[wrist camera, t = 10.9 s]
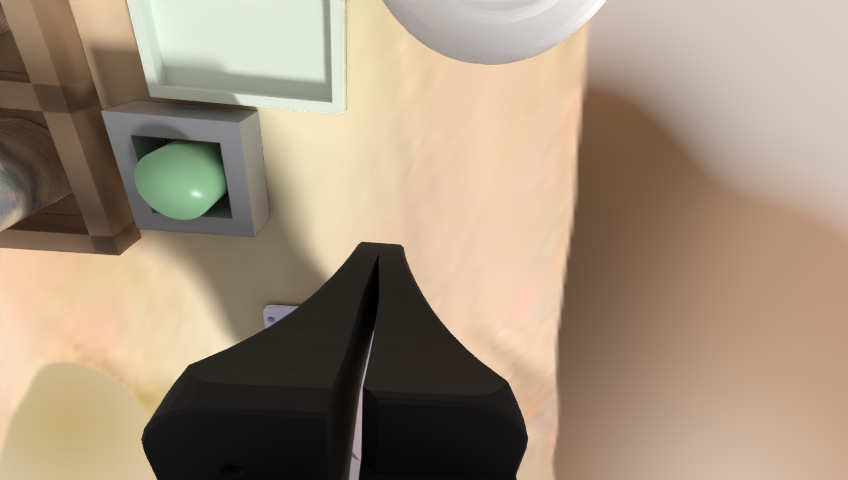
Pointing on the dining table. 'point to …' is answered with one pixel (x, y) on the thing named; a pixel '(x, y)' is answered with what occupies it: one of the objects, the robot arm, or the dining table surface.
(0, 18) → the cylinder
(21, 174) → the seated billet
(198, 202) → the button
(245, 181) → the grey square frame
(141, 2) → the pale green square tray
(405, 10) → the sprinkles bottle
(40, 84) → the pallet
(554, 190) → the dining table surface
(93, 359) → the dining table surface
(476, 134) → the dining table surface
